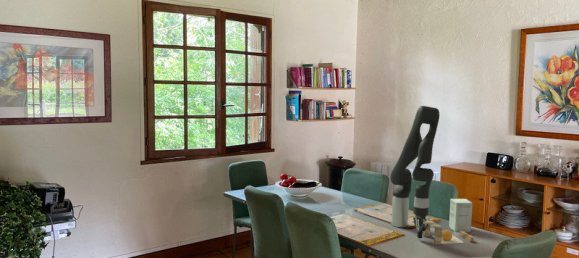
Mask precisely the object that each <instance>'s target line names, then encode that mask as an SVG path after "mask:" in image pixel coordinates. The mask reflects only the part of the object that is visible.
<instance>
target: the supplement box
mask: <svg viewBox="0 0 579 258" xmlns="http://www.w3.org/2000/svg"><path fill="white" fill-rule="evenodd" d="M449 201H450V203H449V218H448V219H449V222H448V227H449V229H451V230H453V232H457V233H459V232H460V231H464V232H466V233H467V232H468V233H470V232H471V230H472V216H473V215H472V214H473V202H472V201H470V200H469V199H467V198H450V200H449Z"/></svg>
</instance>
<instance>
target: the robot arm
mask: <svg viewBox="0 0 579 258" xmlns="http://www.w3.org/2000/svg"><path fill="white" fill-rule="evenodd" d="M440 116H441V115H440V110H439V108H437V107H432V106H427V105H420V106H418V108H417V110H416V113H415V116H414V119H413V123H412V125H411V129H410V130H409V133H408V136H407V138H406V141H405V143H404V146H403V147H402V150H401V152H400V154H399V157H398V159H397V162H396V163H395V165H394V166H393V168H392V171H391V174H390V182H391V184H392V185H394V186H398V187H397V188H395V189H394V190H393V191H392V206H391V207H392V208H391V225H392V226H394V227H396V228H406V226H407V225H409V204H410V194H411V190H412V182H413V181H412V180H414V181H416V182H417V181H418V182H423V183H424V184H419V185H416V186H415V188H414V199H413V215H415V217H414V216H413V218H412V219H413V223H414V227H415V229H416V231H417V233H416V237H417V238H418V239H422V238H423V231H425V230H426V228H427V226H428V224H426V219H427V218H426V217H427V216H429V209H430V208H429V207H430V188H431V184H432V181H433V179H434V177H435V175H434V171H433V169H431V168H426V167H422V166H423V165H428V164H431V162H432V158H433V147H434V142H435V138H436V134H437V131H438V126H439V123H440V122H439V121H440ZM423 124H425V125H428V126H429V128H428V132H427V133H426V135H425V136H424V137H423V138H422V134H421V127H422V125H423ZM416 159H417V160H416ZM415 160H416V161H415ZM414 161H415V166H414V168H413V171H411V170H410V169H409V168H407V167H408V166H409V165H410V164H412V163H413V162H414ZM407 227H408V226H407Z"/></svg>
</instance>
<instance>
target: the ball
mask: <svg viewBox="0 0 579 258" xmlns="http://www.w3.org/2000/svg"><path fill="white" fill-rule="evenodd" d="M452 235H453V233H452V232H451V231H450V230H449V229H444V230H442V238H443V239H444V240H446V241H448V240H451V238H452Z"/></svg>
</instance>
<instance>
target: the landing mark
mask: <svg viewBox="0 0 579 258" xmlns="http://www.w3.org/2000/svg"><path fill="white" fill-rule="evenodd" d="M431 237H432V238H434V235H431ZM464 243H465V242H463V241H462V240H461V239H460V238H458V237H456V236H454V235H453V234H452V238H451V240H448V241H446V240H444V239H443V238H442V239H441V245H442V244H443V245H444V244H445V245H446V244H447V245H448V244H450V245H451V244H464Z"/></svg>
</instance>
